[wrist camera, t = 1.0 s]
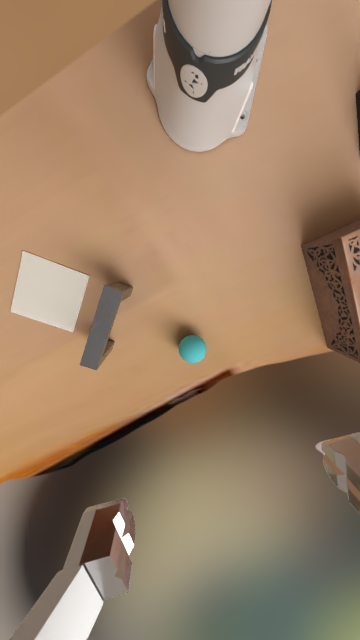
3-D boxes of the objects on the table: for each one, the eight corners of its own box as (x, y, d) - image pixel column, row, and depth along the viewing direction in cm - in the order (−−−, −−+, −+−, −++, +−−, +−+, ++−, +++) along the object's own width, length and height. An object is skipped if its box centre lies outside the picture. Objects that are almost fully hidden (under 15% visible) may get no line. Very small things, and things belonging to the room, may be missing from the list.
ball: (183, 327, 43) (186, 336, 38) (207, 336, 44) (213, 346, 38) (174, 351, 45) (175, 362, 39) (197, 359, 45) (202, 371, 40)
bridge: (98, 345, 43) (79, 364, 34) (119, 282, 40) (104, 284, 31) (111, 349, 43) (96, 370, 34) (133, 287, 41) (122, 291, 31)
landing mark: (23, 250, 38) (23, 250, 37) (89, 275, 39) (89, 275, 39) (11, 311, 40) (10, 311, 40) (73, 332, 42) (72, 332, 42)
